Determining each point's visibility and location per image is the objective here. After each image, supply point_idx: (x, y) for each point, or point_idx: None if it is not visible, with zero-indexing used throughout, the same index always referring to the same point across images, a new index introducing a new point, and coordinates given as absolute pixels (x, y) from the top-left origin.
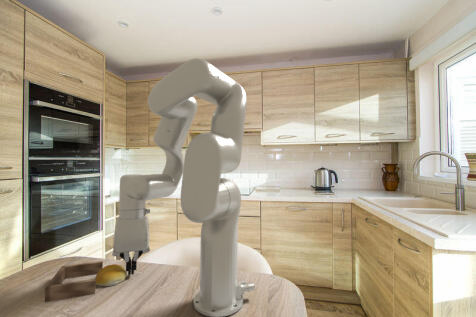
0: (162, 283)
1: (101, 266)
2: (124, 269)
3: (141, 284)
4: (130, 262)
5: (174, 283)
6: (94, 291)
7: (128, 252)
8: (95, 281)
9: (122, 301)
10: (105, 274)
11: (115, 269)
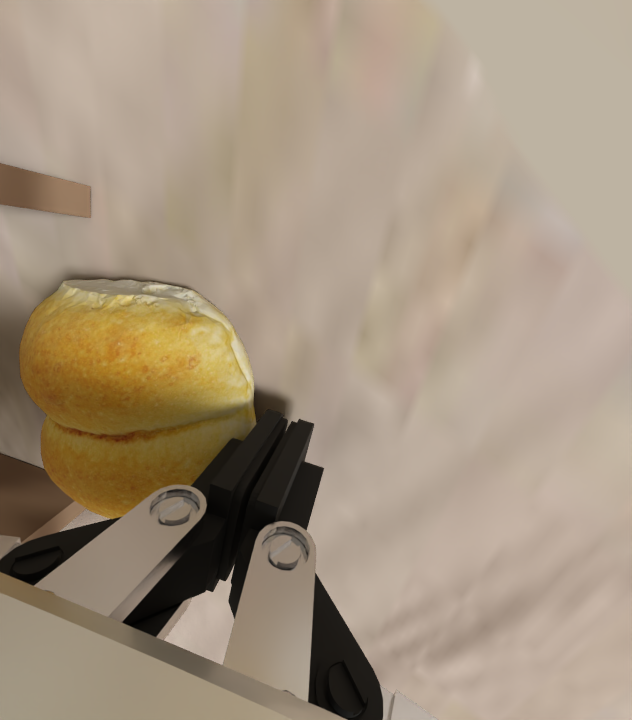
0: (448, 648)
1: (19, 206)
2: (226, 403)
3: (329, 576)
4: (221, 579)
5: (514, 695)
6: (80, 511)
7: (128, 602)
8: (29, 540)
9: (213, 645)
10: (67, 494)
11: (124, 476)
